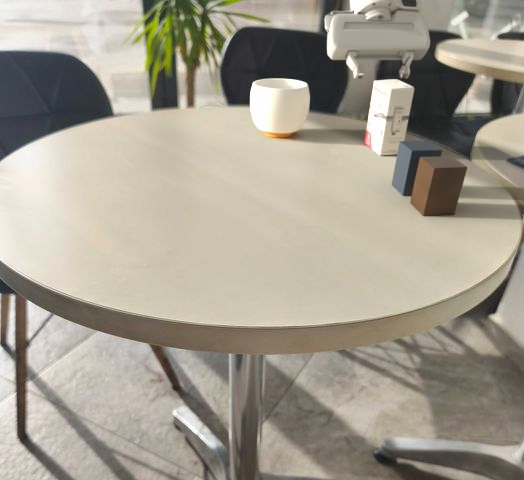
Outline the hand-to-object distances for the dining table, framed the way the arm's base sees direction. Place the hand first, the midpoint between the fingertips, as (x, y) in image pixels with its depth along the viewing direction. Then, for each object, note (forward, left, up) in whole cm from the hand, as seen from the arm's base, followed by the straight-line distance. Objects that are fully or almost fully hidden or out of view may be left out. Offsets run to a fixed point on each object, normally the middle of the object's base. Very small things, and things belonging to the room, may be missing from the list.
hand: (382, 76), depth 96 cm
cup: (+19, -6, -12) cm, 23 cm away
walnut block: (+3, +36, -12) cm, 38 cm away
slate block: (+3, +28, -12) cm, 31 cm away
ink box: (0, +6, -12) cm, 14 cm away
